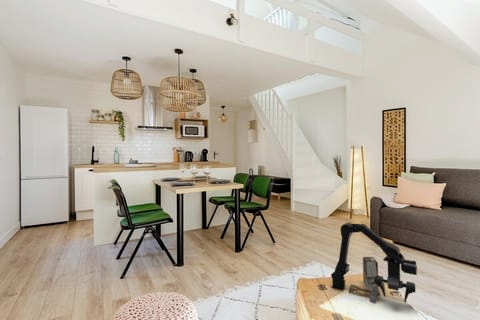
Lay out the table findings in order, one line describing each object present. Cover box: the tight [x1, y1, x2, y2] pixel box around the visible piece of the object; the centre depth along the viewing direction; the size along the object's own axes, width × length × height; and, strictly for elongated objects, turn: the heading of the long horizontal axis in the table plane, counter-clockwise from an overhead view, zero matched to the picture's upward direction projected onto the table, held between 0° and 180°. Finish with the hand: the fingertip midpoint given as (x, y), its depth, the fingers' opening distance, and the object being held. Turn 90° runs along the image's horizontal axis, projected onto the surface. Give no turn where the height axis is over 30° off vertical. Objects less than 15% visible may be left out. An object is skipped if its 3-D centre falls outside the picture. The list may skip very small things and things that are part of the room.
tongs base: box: [348, 283, 381, 298], centre depth 146 cm, size 15×7×2 cm, turn 55°
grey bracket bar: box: [369, 287, 380, 304], centre depth 142 cm, size 3×12×3 cm, turn 145°
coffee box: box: [362, 256, 379, 289], centre depth 156 cm, size 9×6×16 cm
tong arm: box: [348, 285, 380, 301], centre depth 144 cm, size 15×2×4 cm, turn 56°
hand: (394, 299), depth 137 cm, fingers open, 9 cm apart
